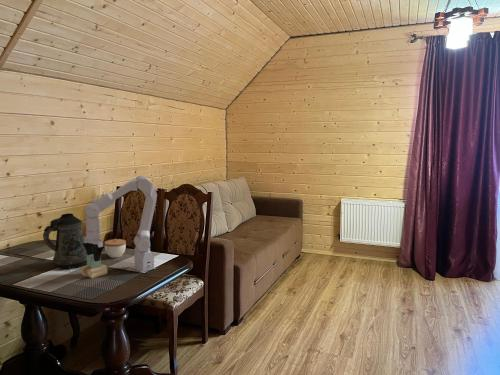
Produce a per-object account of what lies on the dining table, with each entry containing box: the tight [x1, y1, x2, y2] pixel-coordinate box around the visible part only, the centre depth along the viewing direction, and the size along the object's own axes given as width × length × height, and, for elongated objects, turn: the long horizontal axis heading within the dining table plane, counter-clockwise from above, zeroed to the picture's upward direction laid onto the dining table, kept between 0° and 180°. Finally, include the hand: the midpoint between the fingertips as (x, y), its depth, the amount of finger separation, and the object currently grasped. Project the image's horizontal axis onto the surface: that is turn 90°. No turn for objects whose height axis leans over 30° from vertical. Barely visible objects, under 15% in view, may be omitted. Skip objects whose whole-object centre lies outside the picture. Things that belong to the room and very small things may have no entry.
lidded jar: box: [103, 238, 127, 259], centre depth 207 cm, size 11×11×9 cm
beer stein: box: [42, 212, 87, 270], centre depth 190 cm, size 16×19×25 cm
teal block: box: [87, 254, 102, 268], centre depth 180 cm, size 4×4×5 cm
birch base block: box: [80, 263, 108, 279], centre depth 181 cm, size 8×8×4 cm
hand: (93, 259), depth 180 cm, fingers open, 6 cm apart
